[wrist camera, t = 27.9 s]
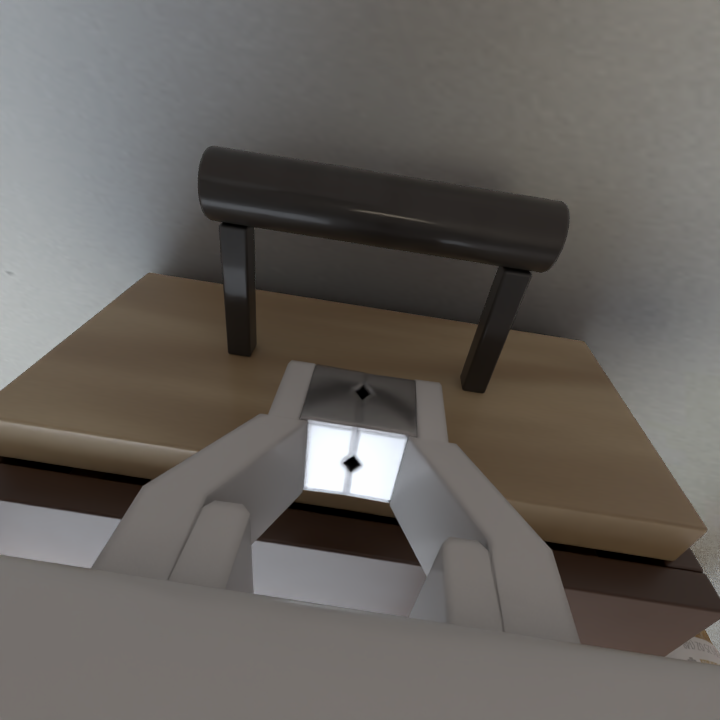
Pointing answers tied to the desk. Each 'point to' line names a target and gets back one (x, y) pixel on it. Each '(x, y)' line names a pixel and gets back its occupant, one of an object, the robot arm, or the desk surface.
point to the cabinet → (360, 561)
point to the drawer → (357, 358)
